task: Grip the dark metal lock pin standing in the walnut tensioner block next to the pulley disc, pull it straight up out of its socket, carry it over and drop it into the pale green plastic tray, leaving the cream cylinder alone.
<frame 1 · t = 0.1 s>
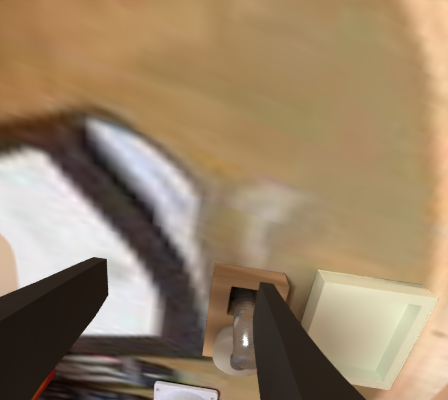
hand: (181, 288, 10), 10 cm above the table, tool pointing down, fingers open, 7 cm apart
lock pin: (245, 288, 21), resting in tensioner block
tray: (350, 324, 22), on the table
tensioner block: (242, 307, 22), on the table
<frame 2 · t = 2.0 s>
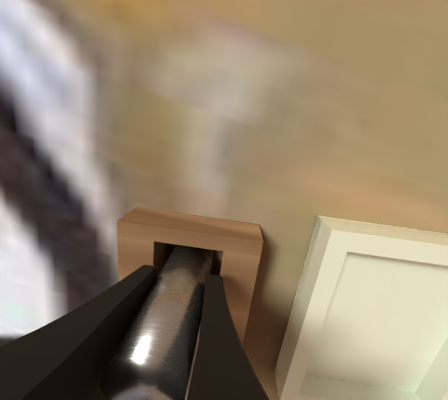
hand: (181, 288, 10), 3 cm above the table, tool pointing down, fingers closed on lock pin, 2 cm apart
lock pin: (193, 254, 12), resting in tensioner block, touching gripper
tray: (373, 316, 13), on the table
tensioner block: (190, 288, 13), on the table
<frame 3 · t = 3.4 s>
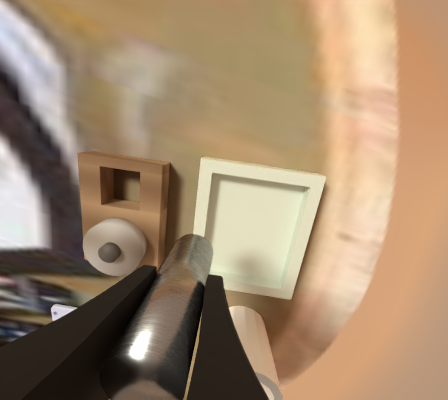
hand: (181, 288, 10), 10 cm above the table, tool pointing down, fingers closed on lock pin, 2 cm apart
cream cylinder: (239, 324, 24), on the table
lock pin: (193, 252, 12), point 8 cm above the table, touching gripper
tray: (249, 227, 20), on the table
tensioner block: (131, 209, 20), on the table
when the fingers open (5 cm above the table, at t = 4.7 s): lock pin drops 2 cm, resting on tray.
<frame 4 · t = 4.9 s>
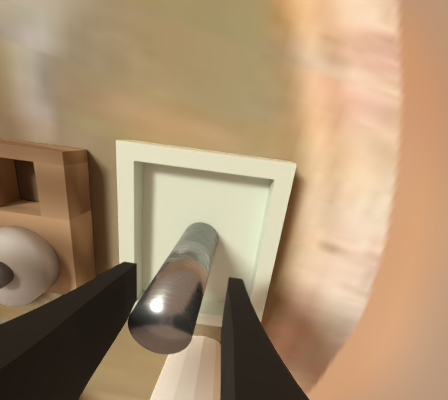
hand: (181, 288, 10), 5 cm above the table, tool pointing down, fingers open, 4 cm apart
cream cylinder: (200, 357, 19), on the table
lock pin: (200, 238, 14), point 1 cm above the table, touching tray
tray: (201, 235, 15), on the table
tensioner block: (45, 213, 15), on the table
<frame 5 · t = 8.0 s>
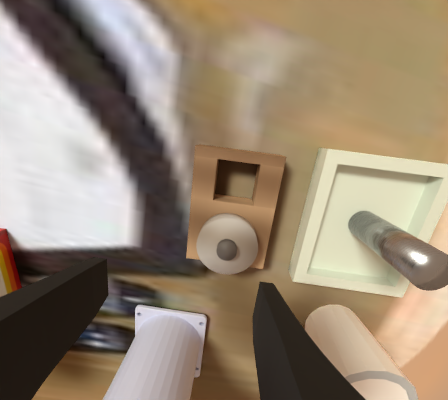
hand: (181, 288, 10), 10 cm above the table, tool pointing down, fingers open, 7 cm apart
cream cylinder: (330, 323, 23), on the table
lock pin: (362, 223, 18), point 1 cm above the table, touching tray
tray: (357, 221, 19), on the table
tensioner block: (232, 204, 19), on the table
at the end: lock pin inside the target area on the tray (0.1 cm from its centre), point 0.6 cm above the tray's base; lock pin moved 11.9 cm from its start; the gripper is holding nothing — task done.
